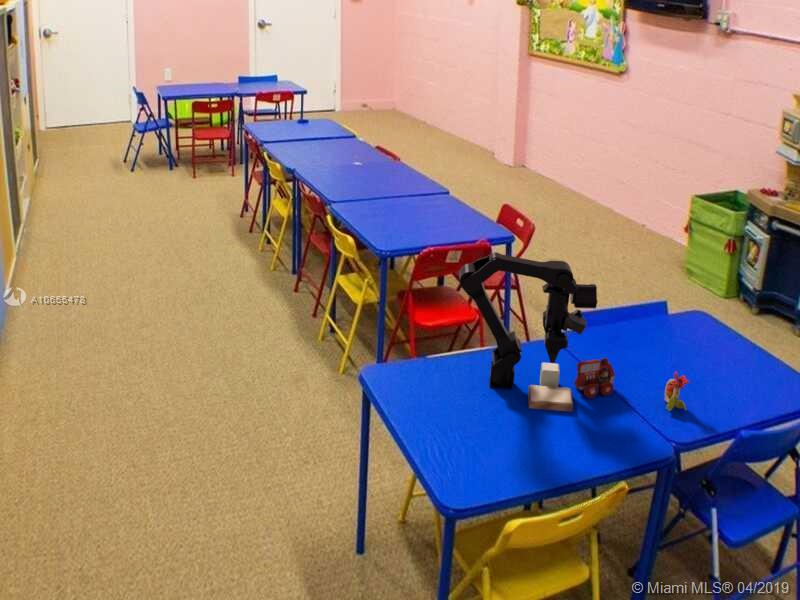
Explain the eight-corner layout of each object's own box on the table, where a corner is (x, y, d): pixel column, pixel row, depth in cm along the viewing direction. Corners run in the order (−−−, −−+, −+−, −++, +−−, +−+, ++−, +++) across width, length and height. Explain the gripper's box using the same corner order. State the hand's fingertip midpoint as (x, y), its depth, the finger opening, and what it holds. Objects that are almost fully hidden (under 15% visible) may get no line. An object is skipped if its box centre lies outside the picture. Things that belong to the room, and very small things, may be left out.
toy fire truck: (618, 393, 244) (623, 362, 240) (581, 400, 240) (585, 368, 236) (605, 382, 250) (610, 351, 246) (568, 388, 246) (572, 357, 242)
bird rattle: (655, 408, 241) (669, 413, 232) (654, 369, 241) (669, 373, 232) (676, 407, 242) (691, 412, 233) (675, 368, 242) (690, 372, 233)
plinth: (528, 408, 236) (529, 400, 235) (528, 391, 244) (529, 384, 243) (572, 411, 235) (573, 404, 234) (570, 394, 243) (571, 387, 242)
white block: (540, 389, 245) (542, 370, 243) (539, 380, 250) (541, 361, 247) (557, 390, 245) (559, 371, 242) (556, 381, 249) (558, 363, 247)
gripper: (589, 323, 227) (582, 373, 234) (584, 294, 244) (577, 342, 251) (547, 319, 228) (542, 370, 235) (545, 291, 245) (539, 339, 252)
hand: (551, 354), depth 243 cm, fingers open, 9 cm apart
